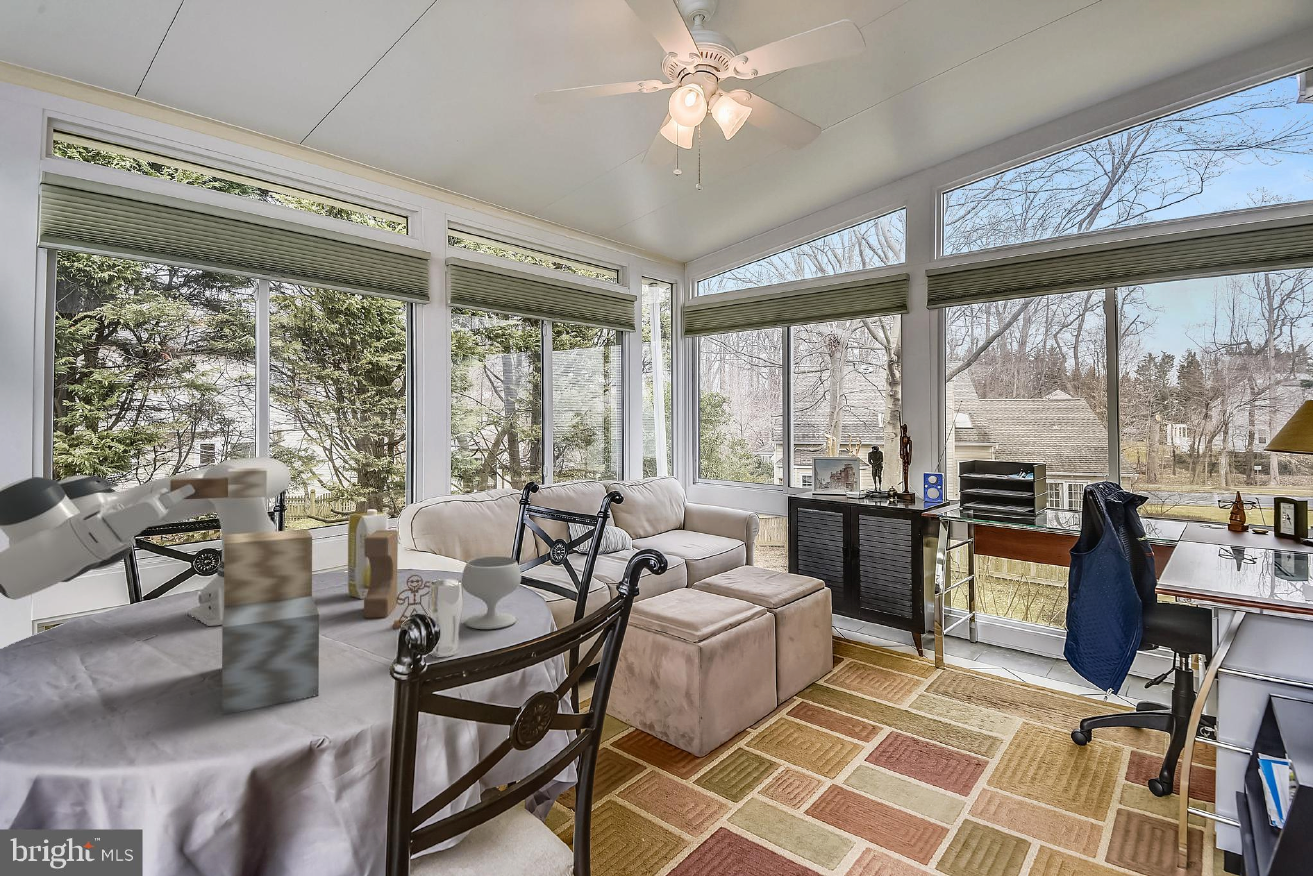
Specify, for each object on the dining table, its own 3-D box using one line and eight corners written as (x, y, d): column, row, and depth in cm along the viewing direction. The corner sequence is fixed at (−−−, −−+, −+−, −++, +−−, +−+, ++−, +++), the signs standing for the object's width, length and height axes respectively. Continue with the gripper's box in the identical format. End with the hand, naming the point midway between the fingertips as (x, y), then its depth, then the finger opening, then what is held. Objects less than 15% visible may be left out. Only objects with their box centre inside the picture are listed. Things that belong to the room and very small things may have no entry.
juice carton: (360, 600, 168) (361, 512, 167) (343, 596, 172) (344, 509, 171) (391, 593, 175) (392, 508, 175) (375, 589, 180) (375, 506, 179)
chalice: (464, 635, 142) (465, 570, 142) (458, 617, 155) (458, 557, 155) (525, 628, 148) (526, 565, 148) (514, 611, 161) (515, 553, 161)
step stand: (221, 714, 102) (222, 557, 102) (225, 667, 122) (225, 534, 121) (318, 695, 110) (319, 549, 109) (306, 653, 129) (307, 529, 129)
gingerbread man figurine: (394, 629, 146) (395, 578, 145) (393, 624, 149) (394, 574, 149) (434, 624, 149) (435, 575, 149) (433, 620, 153) (433, 571, 153)
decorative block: (387, 618, 154) (387, 537, 153) (362, 618, 153) (363, 537, 152) (398, 605, 165) (398, 529, 164) (375, 605, 164) (376, 530, 163)
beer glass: (442, 661, 127) (443, 588, 126) (420, 654, 130) (421, 582, 130) (469, 650, 133) (470, 581, 132) (447, 644, 136) (448, 576, 136)
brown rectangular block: (169, 501, 109) (169, 472, 109) (173, 496, 115) (173, 469, 115) (266, 497, 117) (266, 470, 117) (265, 493, 123) (265, 468, 123)
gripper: (128, 534, 117) (207, 494, 124) (109, 554, 100) (201, 507, 107) (106, 506, 115) (187, 467, 122) (83, 521, 98) (178, 475, 105)
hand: (194, 486), depth 114 cm, fingers closed on brown rectangular block, 3 cm apart
